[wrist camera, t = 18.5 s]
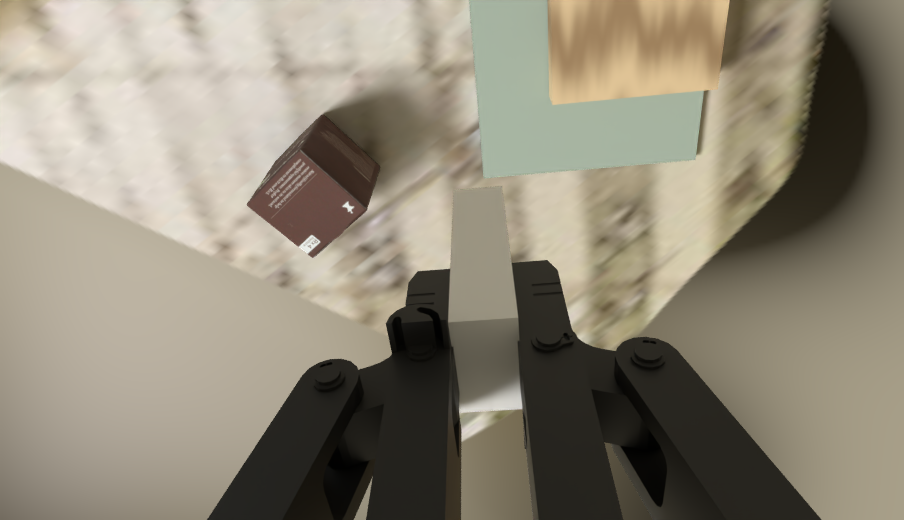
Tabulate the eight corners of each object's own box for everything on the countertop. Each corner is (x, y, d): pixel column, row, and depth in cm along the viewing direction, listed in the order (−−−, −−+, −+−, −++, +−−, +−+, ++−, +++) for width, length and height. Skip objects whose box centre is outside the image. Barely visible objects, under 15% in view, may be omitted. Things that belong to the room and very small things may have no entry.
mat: (458, -129, 36) (458, -130, 35) (730, -163, 35) (734, -164, 34) (483, 175, 46) (483, 178, 46) (692, 156, 45) (695, 159, 45)
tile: (550, -24, 36) (735, -44, 35) (546, -28, 38) (722, -47, 37) (552, 105, 40) (717, 89, 40) (548, 95, 42) (706, 80, 42)
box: (324, 110, 44) (300, 147, 38) (382, 166, 46) (369, 209, 40) (273, 162, 46) (243, 205, 40) (331, 213, 48) (311, 261, 42)
